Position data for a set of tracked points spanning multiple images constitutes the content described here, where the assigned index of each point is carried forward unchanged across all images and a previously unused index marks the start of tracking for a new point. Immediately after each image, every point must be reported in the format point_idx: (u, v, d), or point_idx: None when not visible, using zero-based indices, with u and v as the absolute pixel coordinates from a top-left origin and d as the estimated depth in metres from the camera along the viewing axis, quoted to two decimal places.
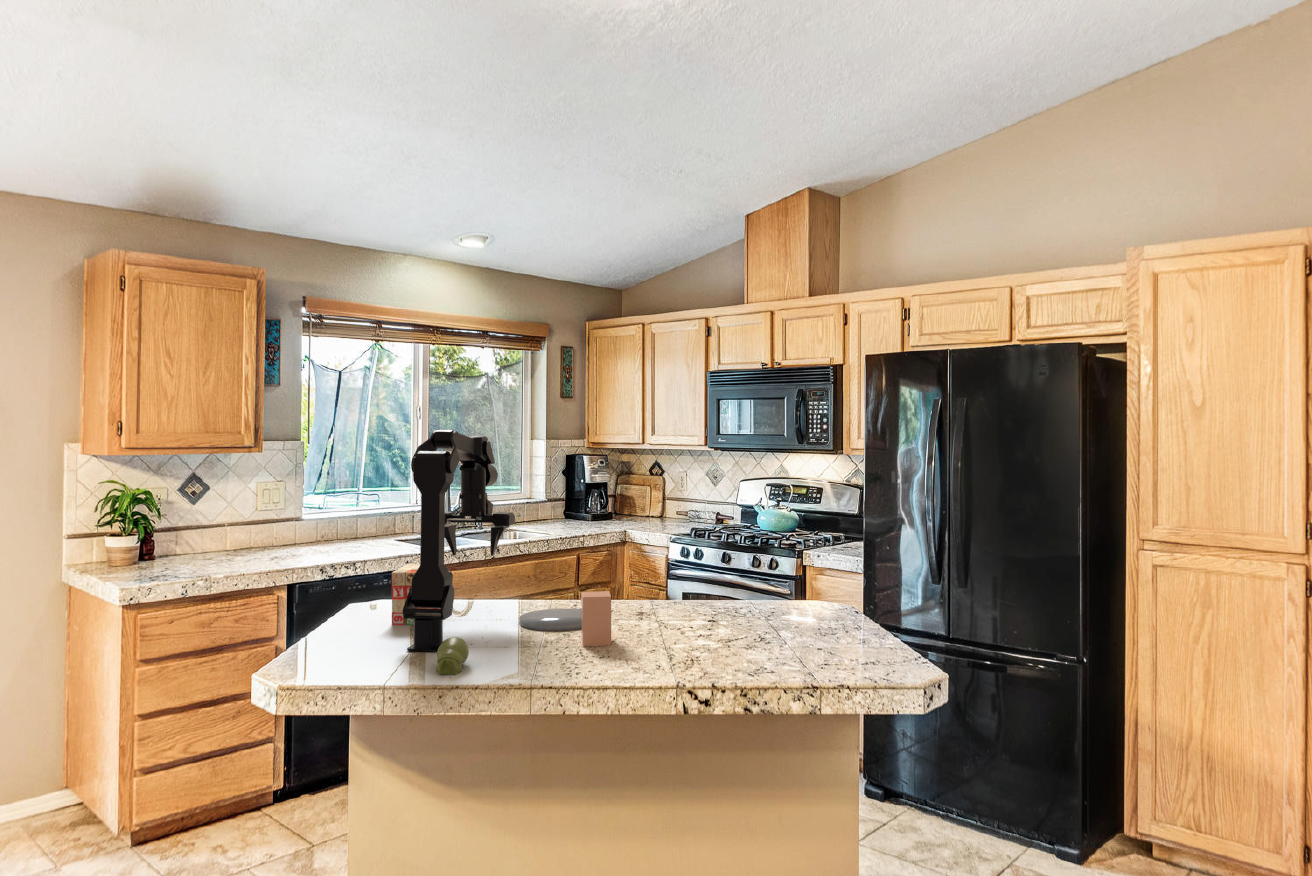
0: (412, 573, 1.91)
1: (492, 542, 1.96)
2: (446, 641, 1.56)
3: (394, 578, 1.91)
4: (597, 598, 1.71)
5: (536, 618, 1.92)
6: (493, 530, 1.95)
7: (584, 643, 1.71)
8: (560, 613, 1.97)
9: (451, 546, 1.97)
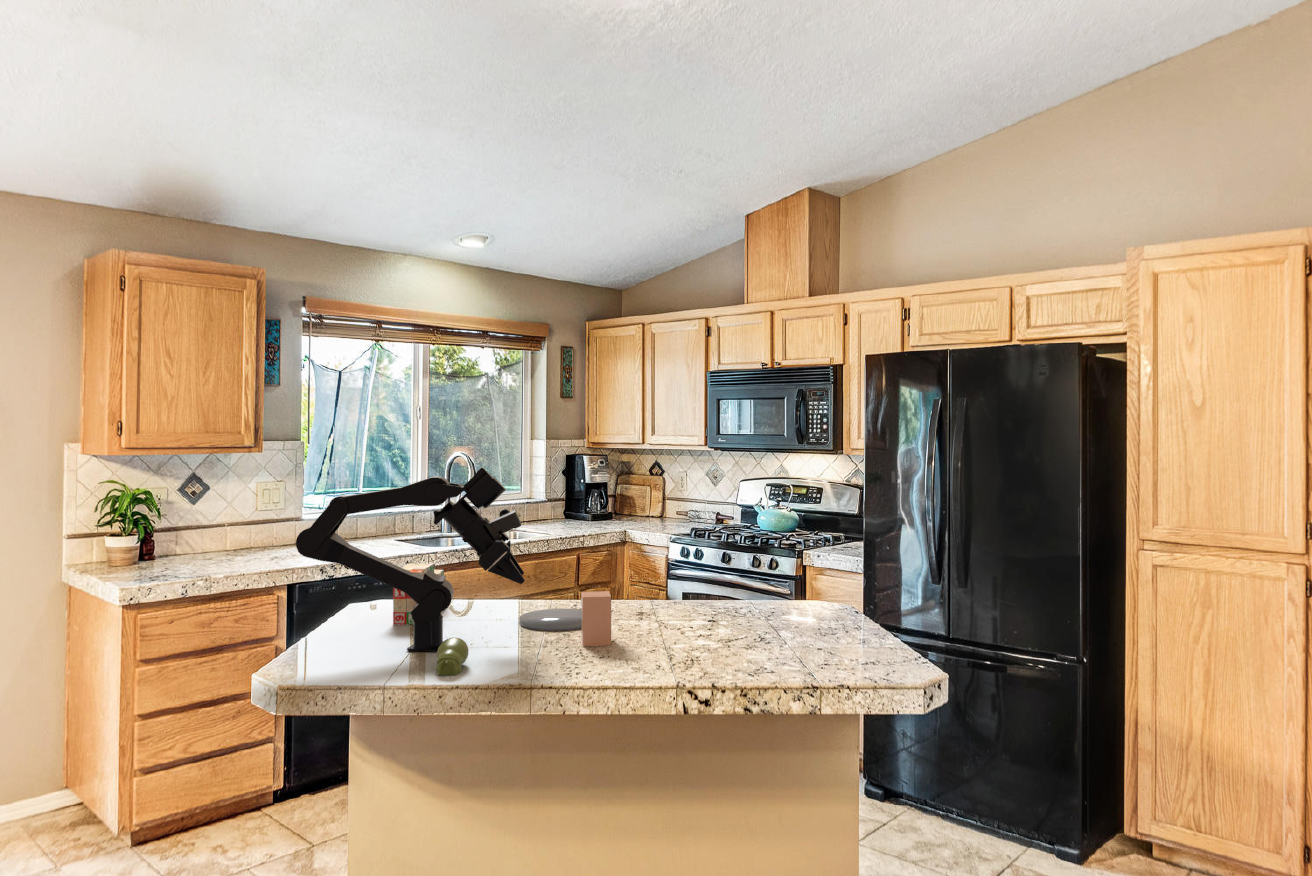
0: None
1: None
2: (446, 641, 1.55)
3: None
4: (597, 598, 1.71)
5: (536, 618, 1.92)
6: None
7: (584, 643, 1.71)
8: (560, 613, 1.97)
9: None
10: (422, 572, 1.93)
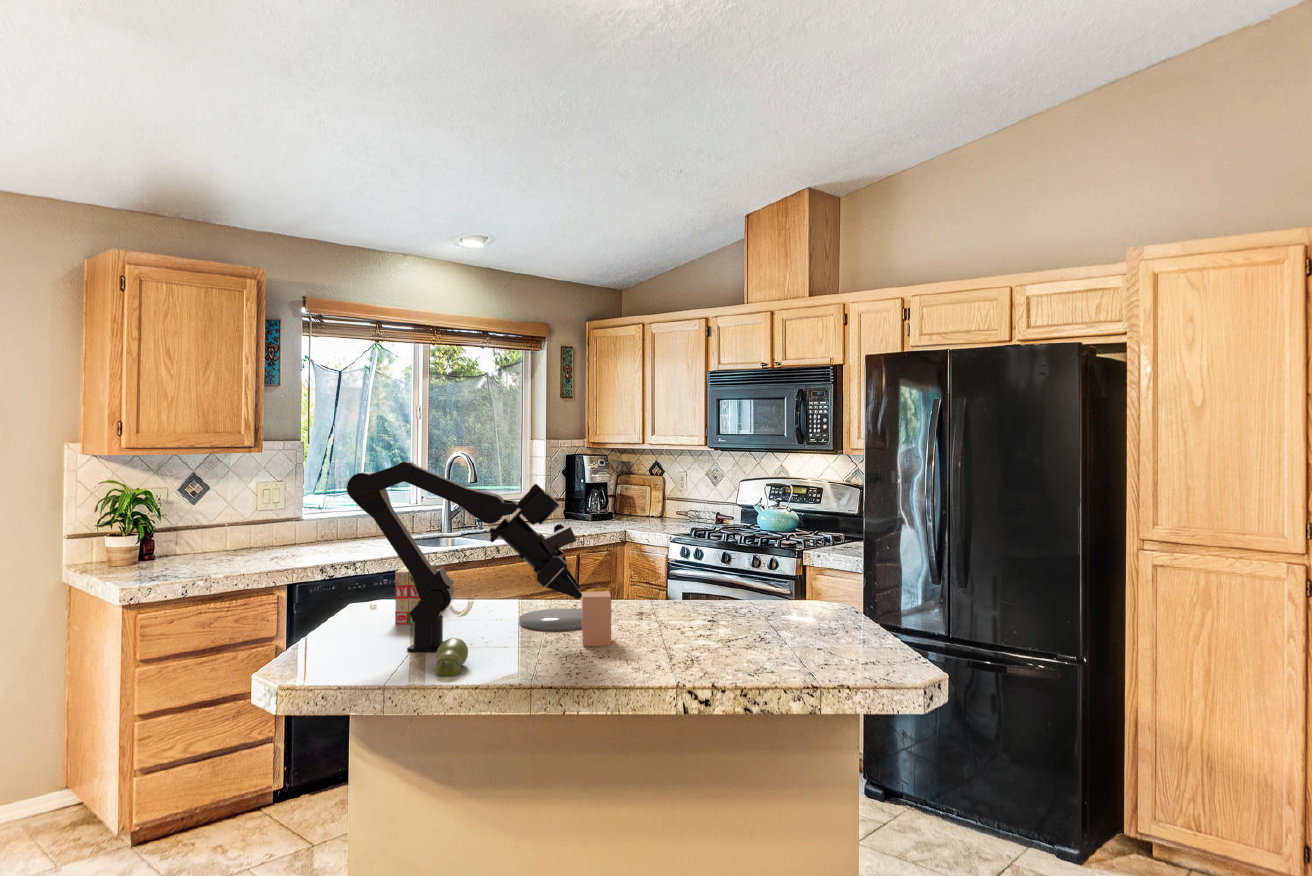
0: None
1: None
2: (445, 642, 1.55)
3: (398, 577, 1.91)
4: (597, 598, 1.71)
5: (536, 618, 1.92)
6: None
7: (584, 643, 1.71)
8: (560, 613, 1.97)
9: None
10: None
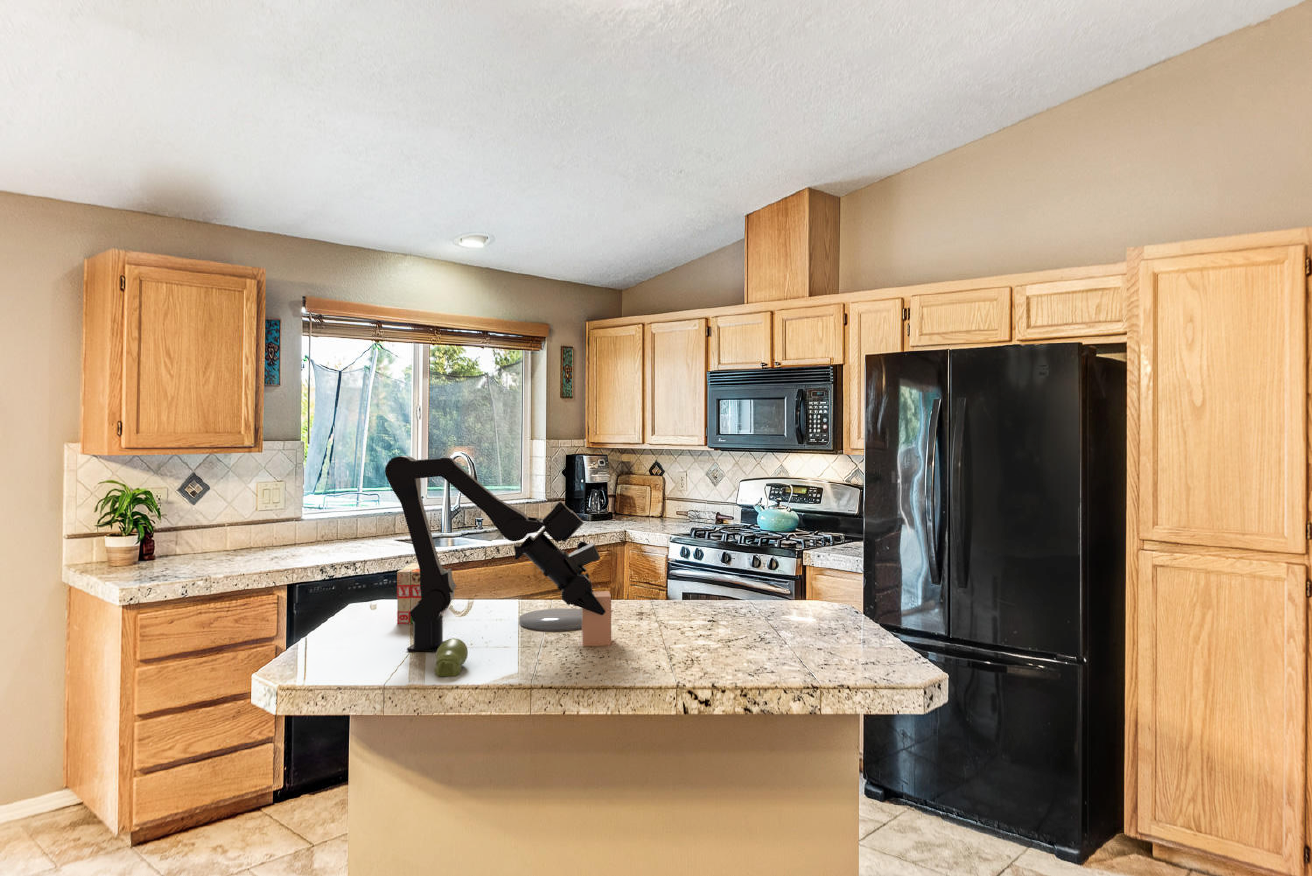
0: (417, 572, 1.92)
1: None
2: (445, 642, 1.55)
3: (399, 577, 1.92)
4: (597, 598, 1.71)
5: (536, 618, 1.92)
6: None
7: (584, 643, 1.71)
8: (560, 613, 1.97)
9: None
10: None
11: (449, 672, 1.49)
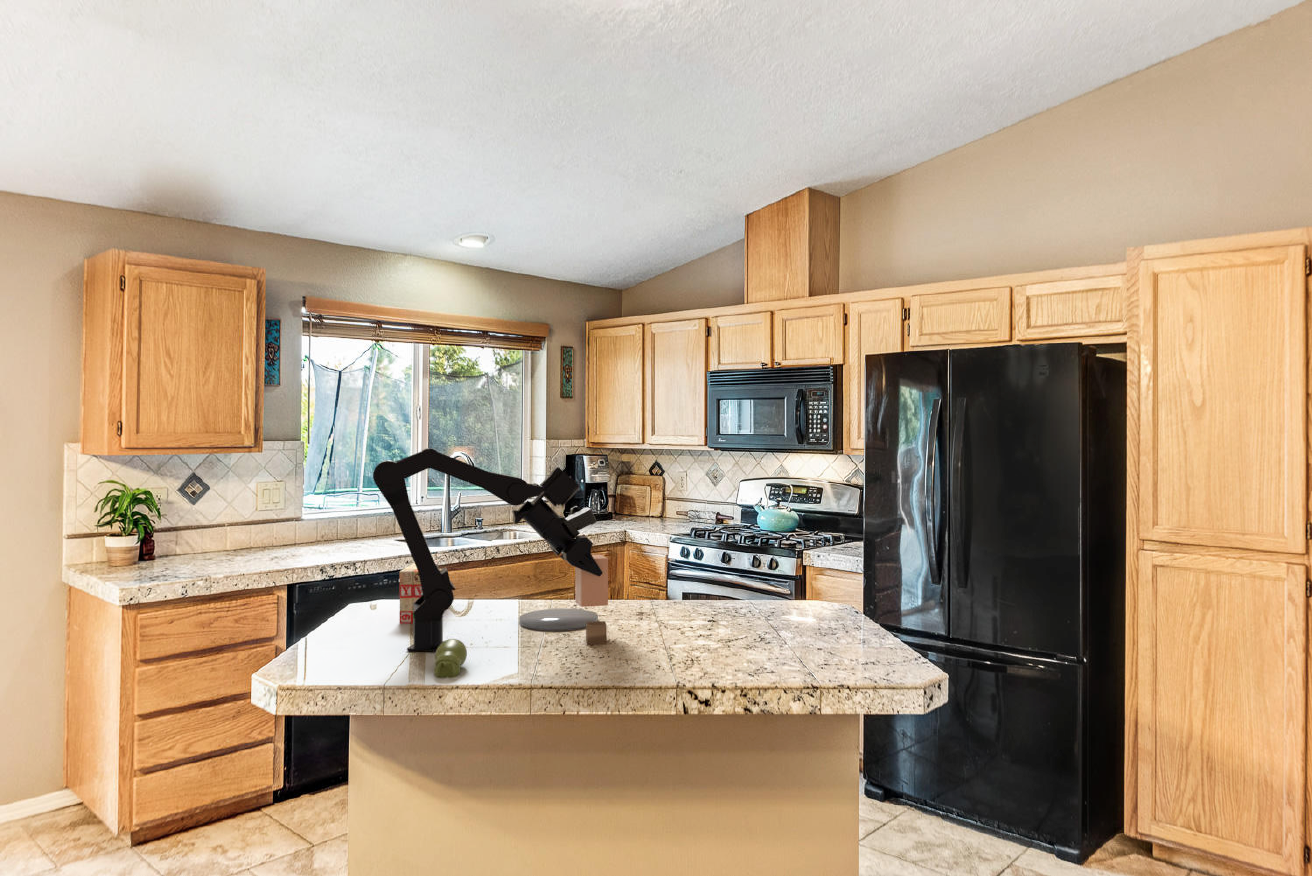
0: None
1: (585, 570, 1.76)
2: (444, 643, 1.54)
3: (402, 577, 1.92)
4: (595, 560, 1.77)
5: (536, 618, 1.92)
6: None
7: (583, 604, 1.76)
8: (560, 613, 1.97)
9: None
10: None
11: (448, 673, 1.49)
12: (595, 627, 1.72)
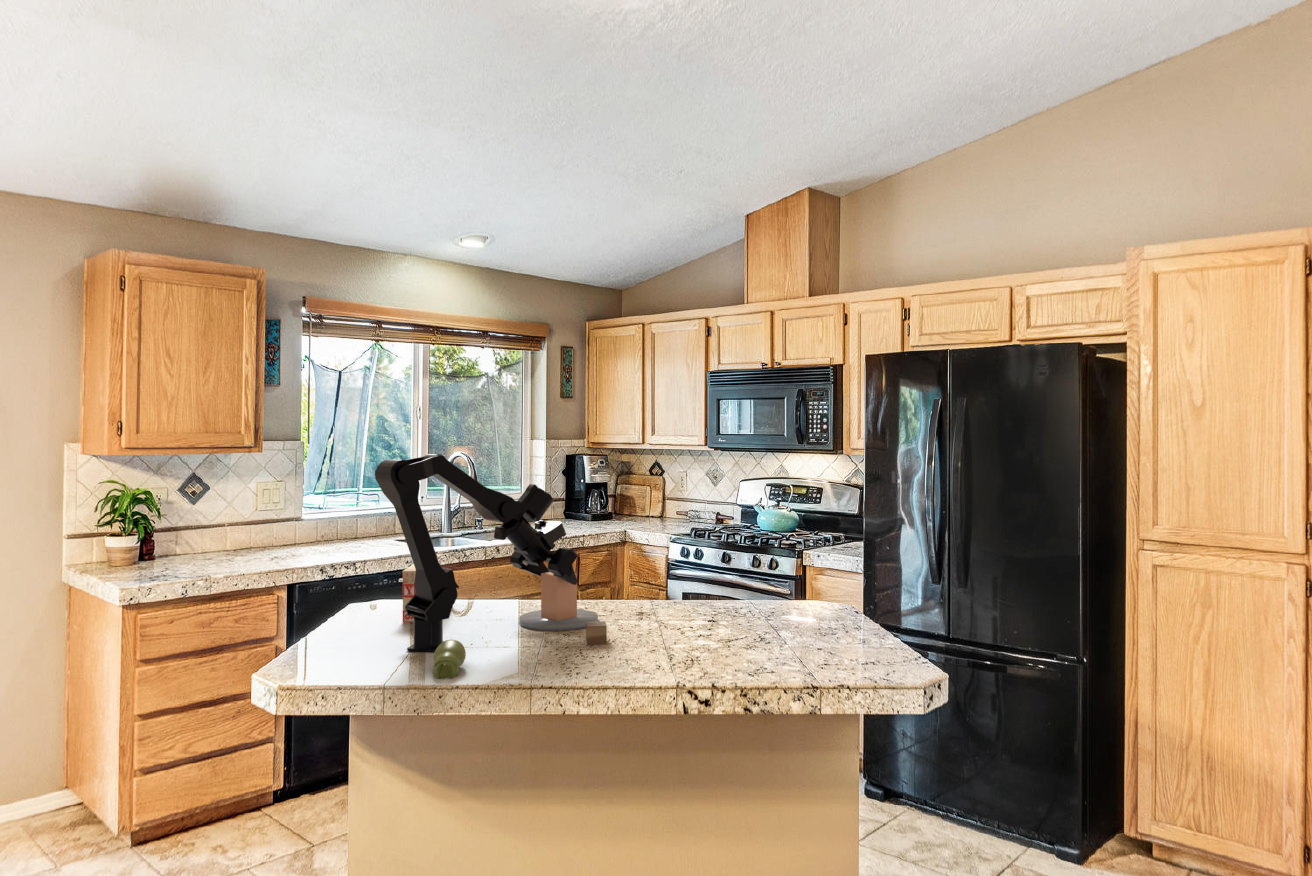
0: None
1: (565, 580, 1.88)
2: (443, 644, 1.54)
3: (405, 576, 1.93)
4: None
5: (536, 618, 1.92)
6: (556, 576, 1.86)
7: (558, 617, 1.90)
8: None
9: None
10: None
11: (448, 674, 1.49)
12: (595, 627, 1.72)
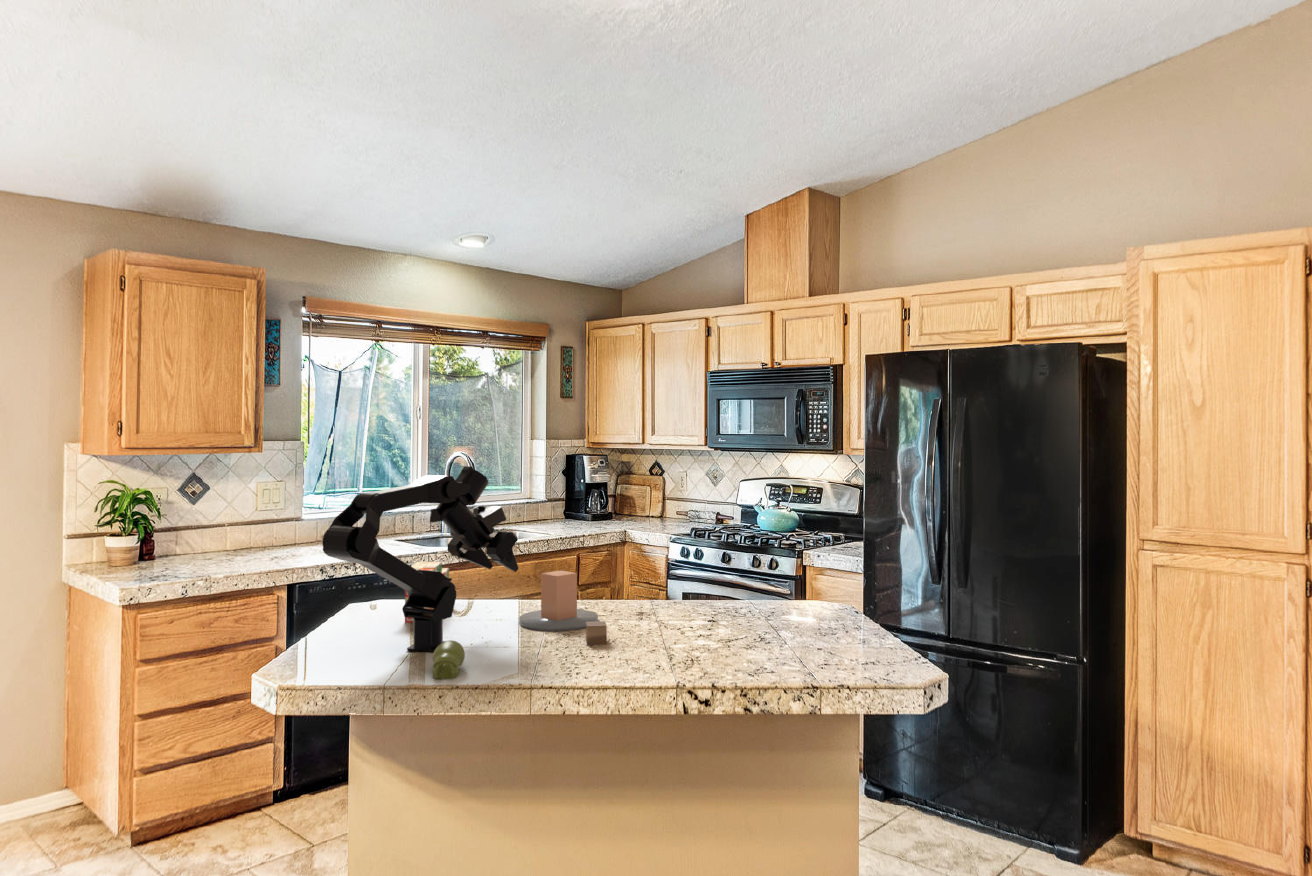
0: None
1: (505, 566, 1.79)
2: (442, 645, 1.53)
3: None
4: (567, 576, 1.91)
5: (536, 618, 1.92)
6: (495, 561, 1.77)
7: (558, 617, 1.90)
8: None
9: (481, 565, 1.87)
10: (433, 570, 1.95)
11: (447, 674, 1.48)
12: (595, 627, 1.72)
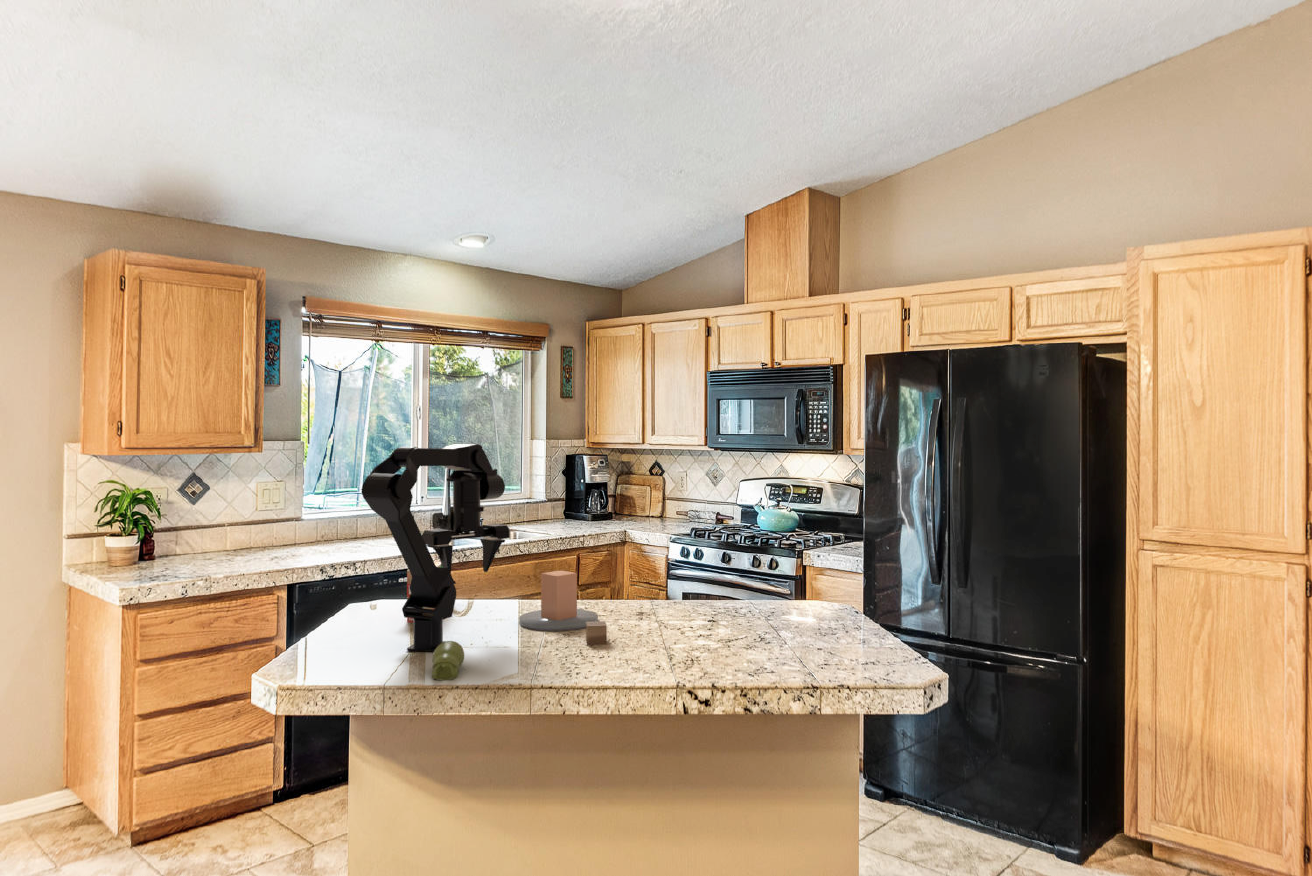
0: None
1: (491, 557, 1.84)
2: (441, 645, 1.53)
3: (409, 576, 1.94)
4: (567, 576, 1.91)
5: (536, 618, 1.92)
6: (496, 544, 1.83)
7: (558, 617, 1.90)
8: None
9: (449, 567, 1.77)
10: None
11: (447, 675, 1.48)
12: (595, 627, 1.72)
